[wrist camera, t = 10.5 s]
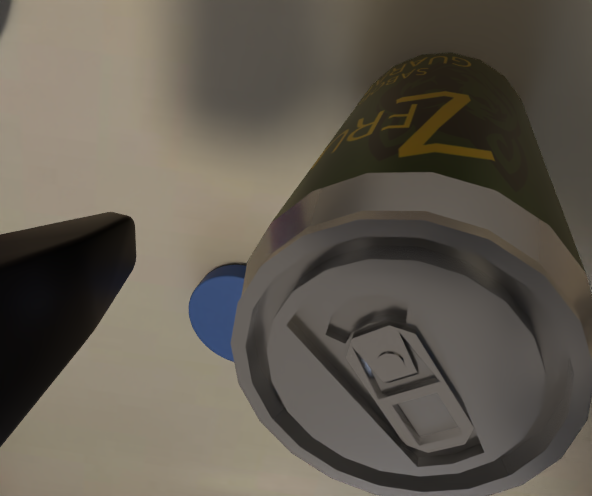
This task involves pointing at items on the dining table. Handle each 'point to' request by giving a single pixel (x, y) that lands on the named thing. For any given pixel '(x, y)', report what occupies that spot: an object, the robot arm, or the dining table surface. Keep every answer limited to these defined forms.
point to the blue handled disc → (217, 308)
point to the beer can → (421, 296)
